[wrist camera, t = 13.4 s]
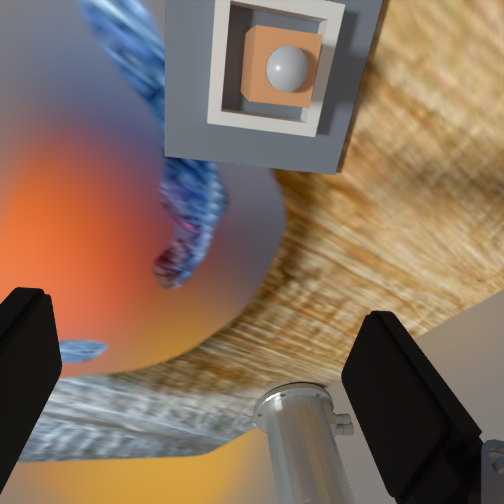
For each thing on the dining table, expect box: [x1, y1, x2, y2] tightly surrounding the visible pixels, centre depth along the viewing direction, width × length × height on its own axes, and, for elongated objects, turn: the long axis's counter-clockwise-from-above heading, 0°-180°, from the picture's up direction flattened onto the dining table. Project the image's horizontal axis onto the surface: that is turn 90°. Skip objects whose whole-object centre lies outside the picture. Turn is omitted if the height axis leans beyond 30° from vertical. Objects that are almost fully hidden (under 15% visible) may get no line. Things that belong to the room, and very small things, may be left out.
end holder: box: [165, 0, 383, 175], centre depth 25 cm, size 16×16×3 cm
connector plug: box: [240, 25, 323, 108], centre depth 22 cm, size 4×4×8 cm
